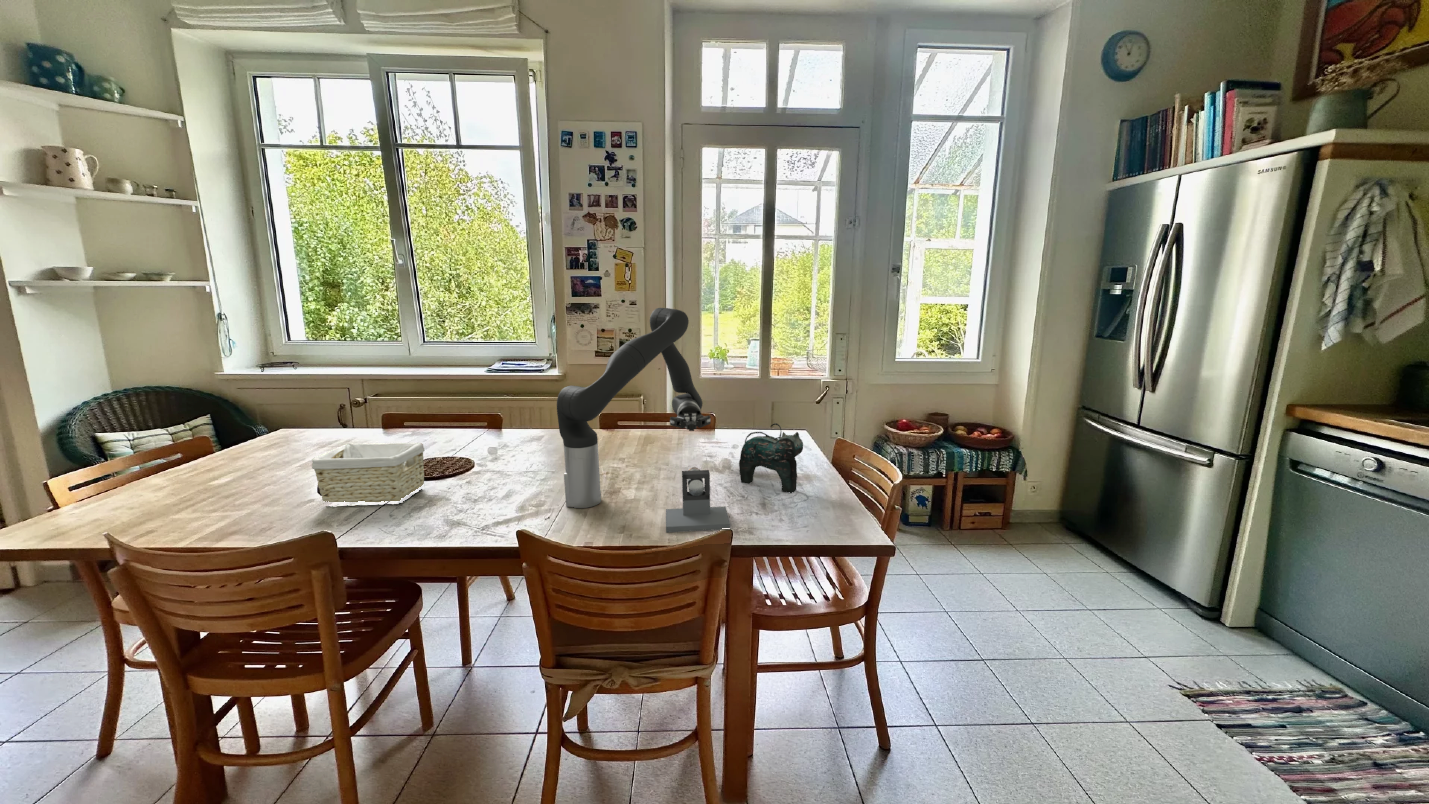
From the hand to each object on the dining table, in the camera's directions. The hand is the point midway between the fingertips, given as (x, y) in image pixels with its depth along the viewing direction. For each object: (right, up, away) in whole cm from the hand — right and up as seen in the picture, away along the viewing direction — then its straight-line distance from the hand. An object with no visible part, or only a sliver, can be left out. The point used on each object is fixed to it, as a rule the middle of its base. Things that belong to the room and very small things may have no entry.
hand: (691, 427), depth 156 cm
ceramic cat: (+23, -19, +7) cm, 30 cm away
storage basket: (-92, -21, +2) cm, 95 cm away
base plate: (+2, -23, -17) cm, 29 cm away
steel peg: (+2, -16, -13) cm, 20 cm away
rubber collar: (+2, -18, -16) cm, 24 cm away
